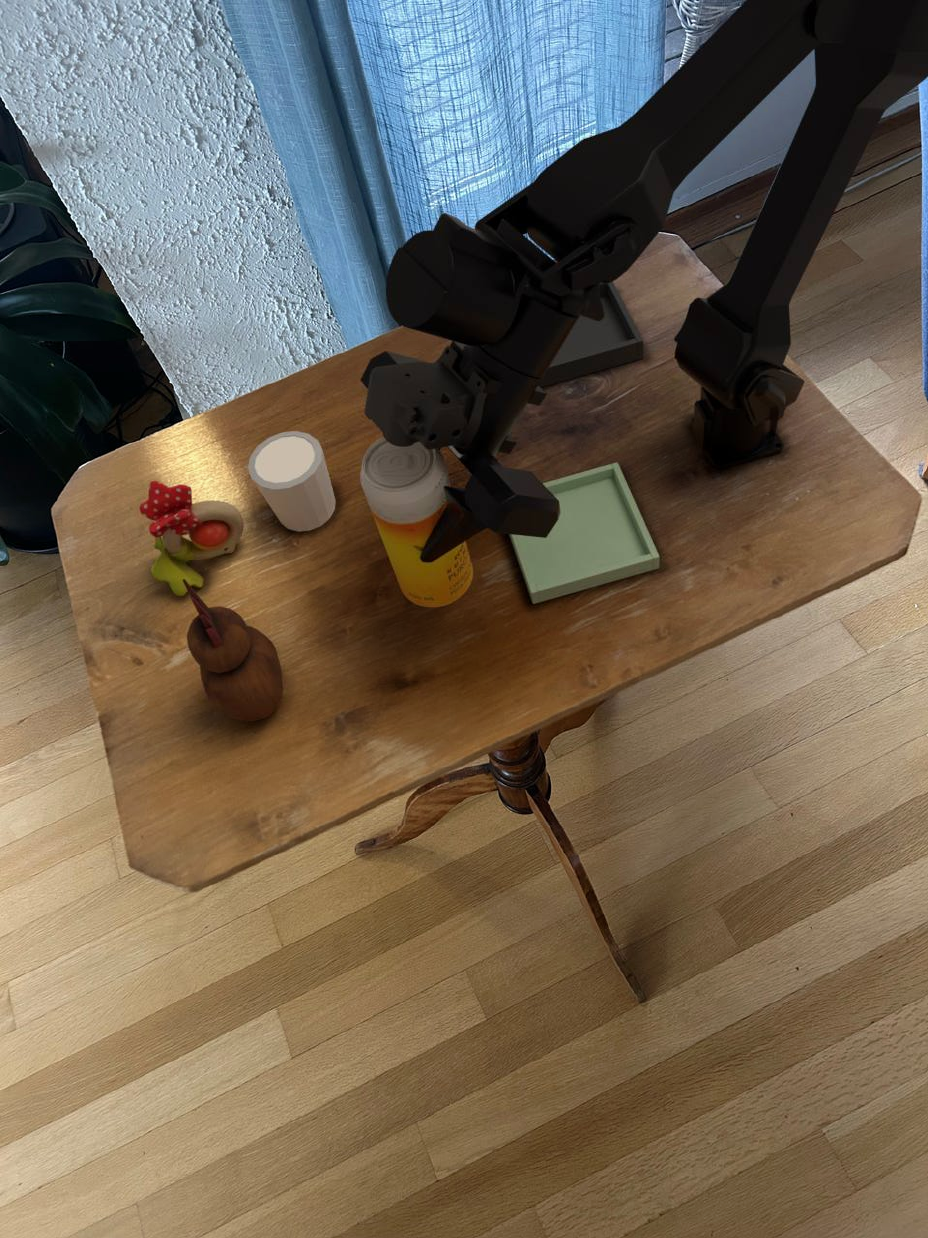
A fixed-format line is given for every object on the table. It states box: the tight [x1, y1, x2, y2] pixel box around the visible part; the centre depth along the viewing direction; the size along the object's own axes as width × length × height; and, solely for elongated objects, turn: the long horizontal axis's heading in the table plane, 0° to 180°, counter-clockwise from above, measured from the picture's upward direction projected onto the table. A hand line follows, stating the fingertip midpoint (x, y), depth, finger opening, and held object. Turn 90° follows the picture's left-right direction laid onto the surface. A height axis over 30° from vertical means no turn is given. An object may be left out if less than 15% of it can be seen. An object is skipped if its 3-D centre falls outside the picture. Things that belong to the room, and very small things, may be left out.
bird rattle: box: [139, 480, 245, 597], centre depth 88 cm, size 6×11×9 cm
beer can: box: [359, 436, 474, 608], centre depth 75 cm, size 6×6×15 cm
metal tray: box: [538, 281, 644, 388], centre depth 100 cm, size 11×10×2 cm
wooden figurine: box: [182, 579, 284, 722], centre depth 77 cm, size 7×6×15 cm
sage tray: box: [508, 462, 660, 605], centre depth 87 cm, size 11×11×2 cm
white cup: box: [247, 430, 336, 533], centre depth 91 cm, size 7×7×7 cm
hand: (404, 534), depth 75 cm, fingers closed on beer can, 6 cm apart
